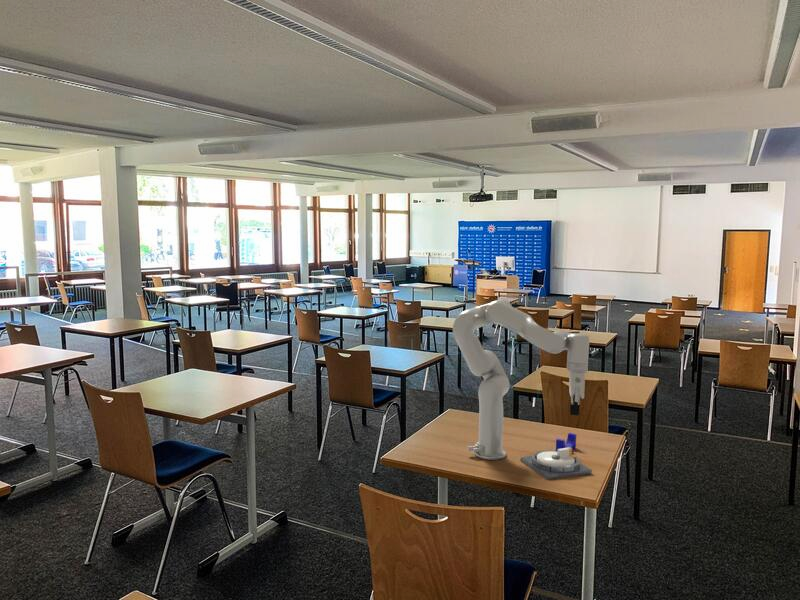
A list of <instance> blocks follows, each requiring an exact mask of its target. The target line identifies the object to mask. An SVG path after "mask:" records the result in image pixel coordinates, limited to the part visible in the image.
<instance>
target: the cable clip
mask: <svg viewBox="0 0 800 600" xmlns="http://www.w3.org/2000/svg"><path fill="white" fill-rule="evenodd" d="M567 447H570V448H572V452H574V450H575V449H576V448H577V434H576V433H574V432H573V433H572V432H568V433H567V438H566V440H565V439H561V438H557V439H555V451H558V449H562V448H567Z"/></svg>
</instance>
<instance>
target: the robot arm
mask: <svg viewBox="0 0 800 600" xmlns="http://www.w3.org/2000/svg"><path fill="white" fill-rule="evenodd" d="M492 324H497V325H498V326H499V325H500V326H501V327H503V328H504V329H507V330H509V331H511V332H513V333H514V334H515V333H516V334H517V335H519V336H520V337H521V338H522V339H524V340H526V341H527V342H529V343H530V344H531V345H533V346H536V347H537V348H539V349H541V350H543V351H545V352H547V353H549V354H560V353H561V352H563V351H566V350H567V357H566V358H567V359H566V360H567V361H566V371H568V372H569V379H568V380H569V381H568V382H569V383H568V387H569V388H568V389H569V395H570V405H569V406H570V407H569V414H570V415H571V416H579V415H580V406H581V404H580V399H585V391H586V390H585V389H586V388H585V385H586V382H585V381H586V374H585V373H587V372H588V370H589V369H588V368H589V354H590V353H589V352H590V336H589V335H588V334H585V333H582V332H581V333H579V332H574V333H573V332H569V331H565V330H555V331H550V330H548V329H546V328H545V327H543V326H540V325H539V324H538V323H536V322H535V320H534V319H533V317H532V316H531V315H529V314H528V313H525V312H523V311H522V310H521V309H520V310H519V309H517V308H516V307H514V306H513V305H512V303H510V302H509V301H508V300H507V299H501V298H499V299H496V300H494V301H493V300H492V301H491V302H489V303H485V304H482V305H479V306H475V307H472V308H469V309H468V308H467V309H465V310H464V311H461V312H460V313H459V314H458V315H457V316H456V318H455V319H454V322H453V324H452V334H453V339H454V340H455V342H456V344H457V346H458V348H459V350H460V352H461V354H462V356H463V358H464V360H465V362H466V365H467V366H468V368H469V370H470V371H469V372H471V374H472V375H474V376H475V377H482V378H483V381H481V383H480V384H479V386H478V391H477V392H478V393H477V395H478V402H479V403H478V405H479V406H478V407H479V409H478V410H479V413H478V440H477V441H476V442H475V444H474V445H468V446H466V450H467V451H468V452H471V451H472V452H473V455H475V456H476V457H477V458H480V459H483V460H491V461H496V460H502V459H504V458H506V455H507V452H506V451H505V450H504V449H503V435H504V434H503V433H504V431H503V429H504V403H503V399H504V398H503V397H504V396H505V395H506V394H508V391H509V389H510V386H511V385H510V381H509V377H508V376H507V373H506V372H505V370H504V368H503V366H502V363H501V362H500V359H499V358H498V357H497V355H496V354H495V352H493V351H491V350H489V349H484V347H483V346H482V343H481V341H480V340H479V339H480V338H479V337H478V336H477V335H476V334H475V330H477V329H479V328H482V327H485V326H489V325H492Z"/></svg>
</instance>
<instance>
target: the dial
mask: <svg viewBox="0 0 800 600" xmlns="http://www.w3.org/2000/svg"><path fill="white" fill-rule="evenodd" d="M552 451H553V450H550V451H549V452H541V453H539V454H538V455H537V460H538V461H539V462H541V463H544V464H547V465H551V466H561V467H563V466H568V465H570V466H571V465H574V464H575V459H574V458H573V457H572V455H573V453H572V448H570V447H567V448H562V449H558V452H552Z"/></svg>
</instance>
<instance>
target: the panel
mask: <svg viewBox="0 0 800 600" xmlns="http://www.w3.org/2000/svg"><path fill="white" fill-rule="evenodd" d="M549 451H552V452H558V451H556V450H550V449H548V450H546V449H545V450H539V451H538V450H537V451H536V452H534V453H532V454H531V455H528V456H527V455H526V456H520V462H522V463H523V464H525V465H526V466H527V465H528V466H527V467H529V468H530V469H532V470H533V471H535V472H536V473H537V474H539V475H540V476H542V477H543V478H545V479H546V480H554V479H561V478H562V479H563V478H569V477H577V476H584V475H592V474H593V473H592V472H593V470H592V469H591V468H590V467H588V466H586V465H584V464H583V463H582V462H580V458H579V457H577V456H576V455H574V454H572V457H573V458H574V459H575V464H574V465H571V466H570V465H568V466H563V467H561V466H551V465H547V464H544V463H541V462H539V461H538V460H537V455H538V454H539V453H541V452H549ZM591 473H592V474H591Z"/></svg>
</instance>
